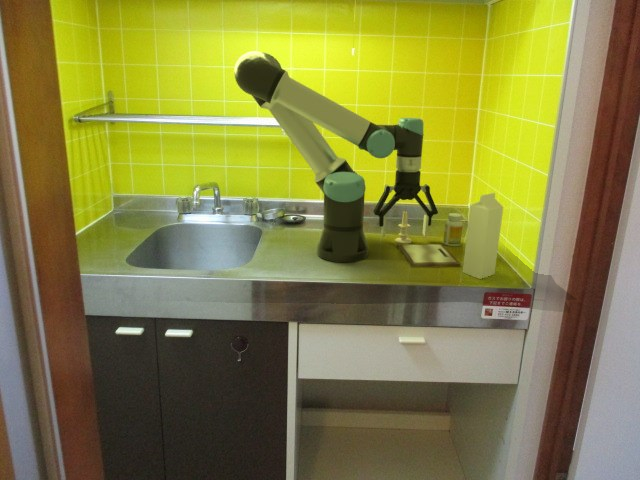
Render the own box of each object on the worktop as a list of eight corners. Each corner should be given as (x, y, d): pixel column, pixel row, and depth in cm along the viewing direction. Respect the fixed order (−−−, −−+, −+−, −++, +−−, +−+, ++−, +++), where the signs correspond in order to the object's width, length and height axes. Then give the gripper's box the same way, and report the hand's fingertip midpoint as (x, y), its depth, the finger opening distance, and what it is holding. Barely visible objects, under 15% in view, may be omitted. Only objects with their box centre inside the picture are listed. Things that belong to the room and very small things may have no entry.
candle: (410, 239, 162) (412, 208, 159) (412, 244, 157) (415, 212, 154) (394, 238, 162) (396, 207, 159) (396, 243, 157) (398, 212, 154)
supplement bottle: (439, 243, 158) (442, 214, 155) (450, 240, 161) (452, 211, 158) (453, 247, 154) (456, 218, 151) (464, 244, 157) (467, 215, 154)
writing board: (411, 267, 138) (411, 263, 138) (397, 247, 154) (398, 243, 154) (460, 266, 139) (460, 262, 139) (441, 246, 155) (442, 243, 155)
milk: (494, 275, 133) (506, 195, 126) (480, 279, 130) (491, 198, 123) (475, 268, 138) (486, 190, 131) (461, 272, 135) (471, 193, 128)
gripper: (370, 172, 148) (367, 239, 154) (451, 171, 149) (445, 238, 156) (366, 167, 155) (363, 232, 161) (444, 167, 157) (438, 231, 163)
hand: (404, 235), depth 159 cm, fingers open, 13 cm apart
